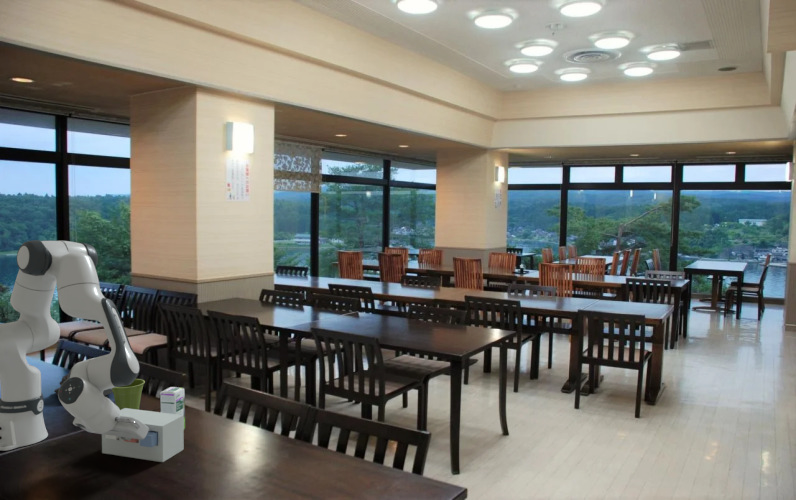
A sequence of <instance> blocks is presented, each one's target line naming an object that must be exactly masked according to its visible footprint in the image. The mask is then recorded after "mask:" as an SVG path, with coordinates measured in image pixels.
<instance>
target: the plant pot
mask: <svg viewBox="0 0 796 500" xmlns="http://www.w3.org/2000/svg"><path fill="white" fill-rule="evenodd" d="M145 383H146V381H145V380H144V379H141V378H136V379H135V380H134V381H133V382H132V384H130V385H126V386H121V387H114V388H111V389H112V391H113V398H114V402H115V403H114V404H115V405H116V406H118V407H119V409H120V410H122V409H124V408H129V409H137V410H140V404H141V398H142V391H143V387H144V385H145Z"/></svg>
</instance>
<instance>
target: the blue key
mask: <svg viewBox="0 0 796 500" xmlns="http://www.w3.org/2000/svg"><path fill="white" fill-rule="evenodd" d="M157 444H158V432H152V431H148V433H147V435H146V437H145V438H144V439H143V440H140V446H145V447H153V446H155V445H157Z"/></svg>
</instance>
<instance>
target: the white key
mask: <svg viewBox="0 0 796 500" xmlns="http://www.w3.org/2000/svg"><path fill="white" fill-rule="evenodd" d="M105 438H108V439H115V440H117V439H119V437H116V436H112V435H105Z"/></svg>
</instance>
